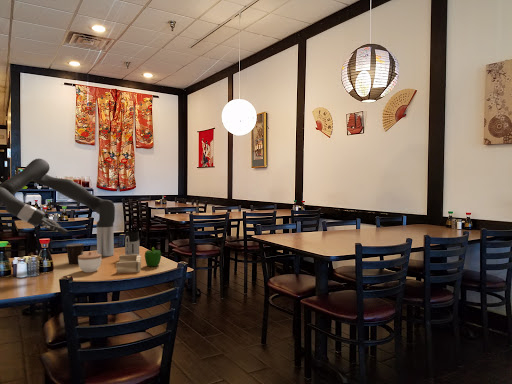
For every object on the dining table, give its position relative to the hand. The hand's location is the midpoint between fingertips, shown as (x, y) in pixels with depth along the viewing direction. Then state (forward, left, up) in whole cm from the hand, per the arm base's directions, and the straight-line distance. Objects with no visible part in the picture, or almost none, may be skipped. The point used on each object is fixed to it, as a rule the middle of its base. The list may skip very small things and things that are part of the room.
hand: (66, 232), depth 184 cm
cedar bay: (-1, +28, -19) cm, 34 cm away
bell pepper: (-3, +40, -20) cm, 45 cm away
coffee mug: (-20, -1, -20) cm, 28 cm away
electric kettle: (-25, +28, -20) cm, 43 cm away
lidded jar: (0, +10, -20) cm, 22 cm away
